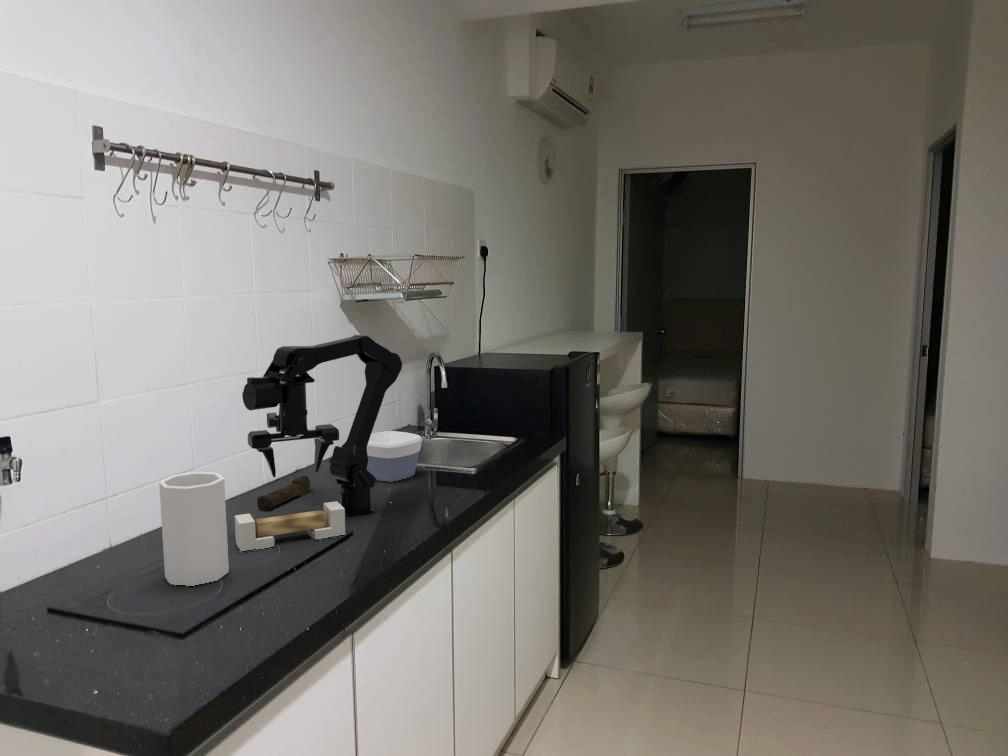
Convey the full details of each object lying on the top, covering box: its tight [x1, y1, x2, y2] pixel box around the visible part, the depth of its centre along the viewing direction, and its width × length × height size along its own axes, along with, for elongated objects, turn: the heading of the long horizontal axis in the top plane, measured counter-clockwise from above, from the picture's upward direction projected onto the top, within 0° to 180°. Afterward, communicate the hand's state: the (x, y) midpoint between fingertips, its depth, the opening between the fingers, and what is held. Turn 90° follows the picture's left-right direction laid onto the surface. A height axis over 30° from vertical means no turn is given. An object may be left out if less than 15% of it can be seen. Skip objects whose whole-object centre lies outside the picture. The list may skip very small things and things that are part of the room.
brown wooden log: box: [256, 475, 311, 512], centre depth 191 cm, size 19×4×5 cm, turn 157°
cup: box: [159, 471, 230, 587], centre depth 142 cm, size 11×11×18 cm
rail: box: [254, 509, 326, 538], centre depth 163 cm, size 14×3×5 cm, turn 118°
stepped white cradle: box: [234, 501, 346, 553], centre depth 163 cm, size 22×7×6 cm, turn 118°
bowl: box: [367, 430, 423, 483], centre depth 213 cm, size 15×15×11 cm
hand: (295, 474), depth 169 cm, fingers open, 9 cm apart
